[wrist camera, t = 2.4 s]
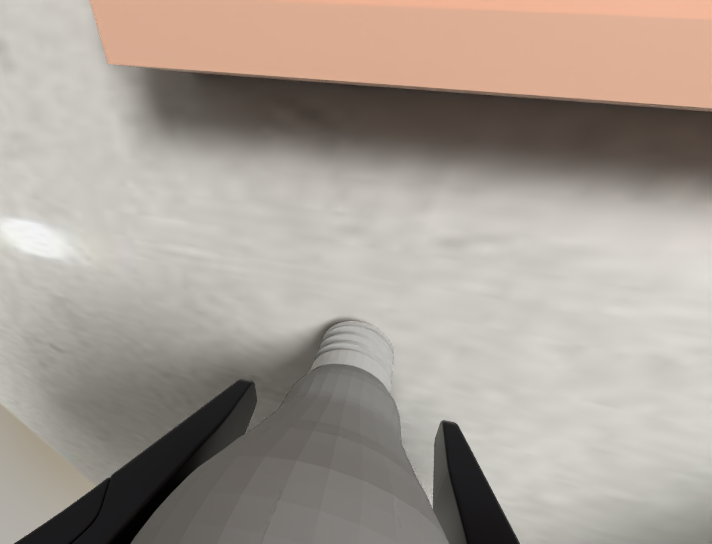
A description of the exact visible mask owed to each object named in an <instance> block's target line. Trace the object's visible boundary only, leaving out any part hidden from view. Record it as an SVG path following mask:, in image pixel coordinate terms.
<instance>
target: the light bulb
mask: <svg viewBox="0 0 712 544" xmlns="http://www.w3.org/2000/svg"><path fill="white" fill-rule="evenodd" d="M393 361H394V349H393V346H392V343H391V342H390V340H389V338H388V337H387V336H386V335H385V334H384V333H383V332H382V331H380V330H379V329H378V328H376V327H374V326H372V325H370V324H367V323H364V322H359V321H345V322H341V323H338V324H335V325H334V326H332V327H331V328H329V329H328V330H327V332H326V333H325V335H324V337H323V340H322V343H321V345H320V347H319V350H318V353H317V355H316V357H315V361H314V363H313V364H312V367H311V369H310V371H309V373H308V374H306V375H304V376H303V377H302V378H301V379H300V380H299V381H298V382H297V383H296V384H295V385H294V386H293V387H292V388H291V390H290V391H289V393H288V394H287V396H286V397H285V399H284V401H283V402H282V404H281V406H280V407H279V409H278V410H277V411H276V412H274V413H273V414H272V415H270V416H269V417H268V418H267V419H265V420H264V421H263V422H261V423H260V424H259V425H258V426H256V427H255V428H254V429H252V430H251V431H249V432H247V433H246V434H244V435H242V436H241V437H239V438H237V439H236V440H235V441H234V442H232V443H231V444H230V445H229V446H227V447H226V448H225V449H223V450H222V451H220V452H219V453H218V454H216V455H215V456H213V457H212V458H210V459H209V460H208V461H206V462H205V463H203V464H202V465H201V466H199V467H198V468H197V469H196V470H195V471H193V472H192V473H191V474H190V475H189V476H188V477H187V478H186V479H185V480H184V481H183V482H182V483H181V484H180V485H179V486H178V487H177V488H176V489H175V490H174V491H173V492H172V493H171V494H170V495H169V496H168V497H167V498H166V500H165V501H164V502H163V503H162V504H161V505H160V506H159V507H158V508H157V509H156V511H155V512H154V513H153V514H152V516H151V517H150V518H149V520H148V521H147V522H146V523H145V525H144V526H143V527H142V529H141V530H140V531H139V532H138V534H137V535H136V536H135V538H134V539H133V541H132V542H131V544H449V542H448V540H447V538H446V536H445V534H444V531H443V529H442V527H441V525H440V523H439V521H438V519H437V517H436V515H435V513H434V511H433V509H432V507H431V504H430V502H429V500H428V498H427V495H426V493H425V491H424V490H423V488H422V486H421V485H420V483H419V481H418V479H417V478H416V476H415V473H414V471H413V469H412V467H411V464H410V462H409V460H408V457H407V455H406V453H405V451H404V448H403V446H402V442H401V426H400V416H399V413H398V410H397V407H396V404H395V401H394V399H393V398H392V396H391V395H390V393H391V383H392V380H391V378H392V373H393V371H392V369H393V363H394V362H393Z"/></svg>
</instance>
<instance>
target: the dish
mask: <svg viewBox="0 0 712 544" xmlns="http://www.w3.org/2000/svg"><path fill="white" fill-rule="evenodd" d="M90 3H91V6H92V10H93V13H94V17H95V20H96V24H97V27H98V31H99V34H100V38H101V41H102V45H103V48H104V52H105V55H106V59H107V62H108V64H113V65H123V66H132V67H141V68H150V69H160V70H169V71H178V72H187V73H199V74H213V75H226V76H239V77H253V78H266V79H279V80H293V81H306V82H320V83H333V84H346V85H360V86H373V87H387V88H400V89H413V90H427V91H440V92H453V93H467V94H480V95H494V96H507V97H520V98H534V99H547V100H560V101H574V102H587V103H601V104H614V105H627V106H641V107H654V108H668V109H681V110H694V111H708V112H712V0H90Z"/></svg>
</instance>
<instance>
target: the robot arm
mask: <svg viewBox="0 0 712 544" xmlns="http://www.w3.org/2000/svg"><path fill="white" fill-rule="evenodd" d="M256 403H257V396H256V390H255V384H254V382H253V381H250V380H245V379H240V380H238V381H237V382H235V383H234V384H233V385H231V386H230V387H229V388H227V389H226V390H225V391H223V392H222V393H221V394H219V395H218V396H217V397H215V398H214V399H213V400H211V401H210V402H209V403H207V404H206V405H205V406H203V407H202V408H201V409H199V410H198V411H197V412H195V413H194V414H193V415H191V416H190V417H189V418H187V419H186V420H185V421H183V422H182V423H181V424H179V425H178V426H177V427H175V428H174V429H173V430H171V431H170V432H169V433H167V434H166V435H165V436H163V437H162V438H161V439H159V440H158V441H157V442H155V443H154V444H153V445H151V446H150V447H148V448H147V449H146V450H144V451H143V452H142V453H140V454H139V455H138V456H136V457H135V458H134V459H132V460H131V461H130V462H128V463H127V464H126V465H124V466H123V467H122V468H120V469H119V470H118V471H116V472H115V473H114V474H112V476H111V478H107V479H106V480H104V481H103V482H102V483H100V484H99V485H98V486H96V487H95V488H94V489H92V490H91V491H90V492H88V493H87V494H86V495H84V496H83V497H81V498H80V499H79V500H77V501H76V502H74V503H73V504H72V505H70V506H69V507H67V508H66V509H65V510H63V511H62V512H61V513H59V514H57V515H56V516H54V517H53V518H52V519H50V520H49V521H47V522H46V523H44V524H43V525H41V526H40V527H38V528H37V529H35V530H34V531H32V532H31V533H29V534H28V535H26V536H25V537H24V538H22V539H20V540H19V541H17V542H16V543H14V544H131V542H132V541H133V539H134V538H135V536H136V535H137V534H138V532H139V531H140V530H141V529H142V527H143V526H144V525H145V523H146V522H147V521H148V520H149V518H150V517H151V516H152V514H153V513H154V512H155V511H156V509H157V508H158V507H159V506H160V505H161V504H162V503H163V502H164V501H165V500H166V498H167V497H168V496H169V495H170V494H171V493H172V492H173V491H174V490H175V489H176V488H177V487H178V486H179V485H180V484H181V483H182V482H183V481H184V480H185V479H186V478H187V477H188V476H189V475H190V474H191V473H192V472H193V471H195V470H196V469H197V468H198V467H199V466H201V465H202V464H203V463H205V462H206V461H208V460H209V459H210V458H212V457H213V456H215V455H216V454H218V453H219V452H220V451H222V450H223V449H225V448H226V447H227V446H229V445H230V444H231V443H232V442H234V441H235V440H236V439H237V438H239V437H241V436H242V435H244V434H245V432H246V430H247V427H248V425H249V422H250V420H251V417H252V414H253V412H254V409H255V407H256ZM433 511H434V513H435V515H436V517H437V519H438V521H439V523H440V525H441V527H442V529H443V531H444V534H445V536H446V538H447V540H448V542H449V544H520V543H519V541H518V539H517V537H516V535H515V533H514V531H513V529H512V527H511V525H510V524H509V522H508V520H507V518H506V516H505V514H504V512H503V510H502V508H501V506H500V504H499V502H498V501H497V499H496V497H495V495H494V493H493V491H492V489H491V487H490V485H489V483H488V481H487V480H486V478H485V476H484V474H483V472H482V470H481V468H480V466H479V464H478V462H477V460H476V458H475V457H474V455H473V453H472V451H471V449H470V447H469V445H468V443H467V441H466V439H465V437H464V435H463V434H462V432H461V430H460V428H459V426H458V425H457V424H456V423H455V422H450V421H445V420H443V421H441V423H440V425H439V428H438V431H437V434H436V437H435V444H434V479H433Z"/></svg>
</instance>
